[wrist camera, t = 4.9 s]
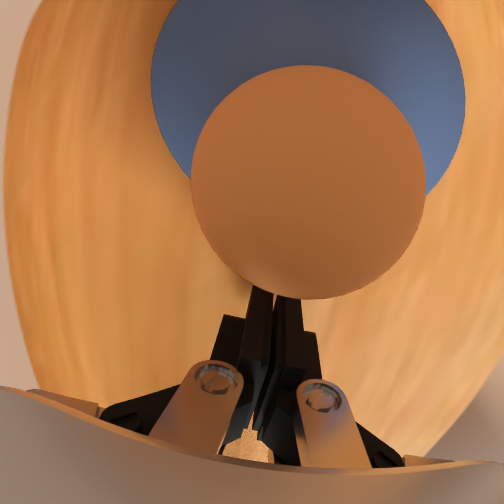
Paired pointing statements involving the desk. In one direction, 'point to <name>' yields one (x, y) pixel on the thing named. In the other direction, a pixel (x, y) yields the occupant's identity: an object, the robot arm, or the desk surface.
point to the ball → (308, 182)
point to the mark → (309, 63)
